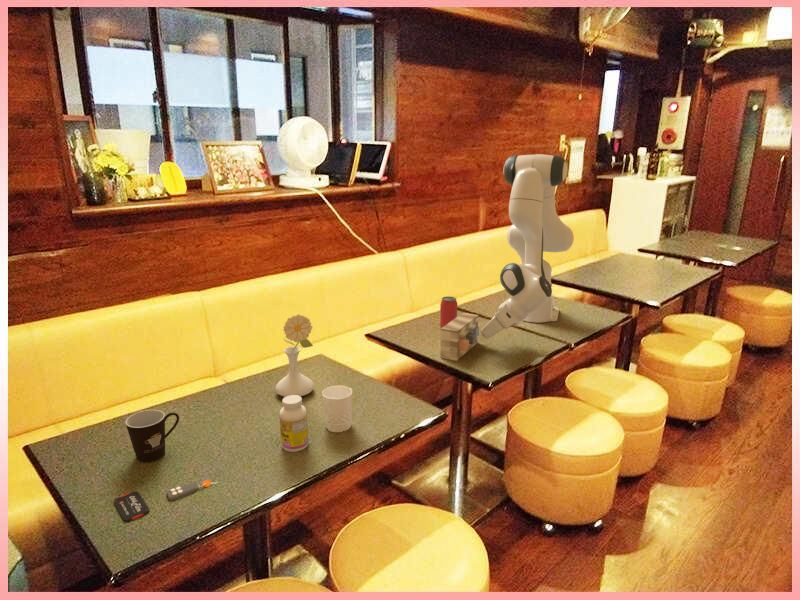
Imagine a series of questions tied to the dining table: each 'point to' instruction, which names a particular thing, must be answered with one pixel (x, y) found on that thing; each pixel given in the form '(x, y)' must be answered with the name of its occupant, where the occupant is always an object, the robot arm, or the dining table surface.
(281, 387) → the flower in vase
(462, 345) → the terracotta button
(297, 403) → the supplement bottle
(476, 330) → the slate-blue button
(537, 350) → the dining table surface
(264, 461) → the dining table surface
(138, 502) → the black flat block
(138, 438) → the coffee mug
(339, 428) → the white cup
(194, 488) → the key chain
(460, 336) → the block
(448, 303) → the beer can
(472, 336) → the charcoal button
